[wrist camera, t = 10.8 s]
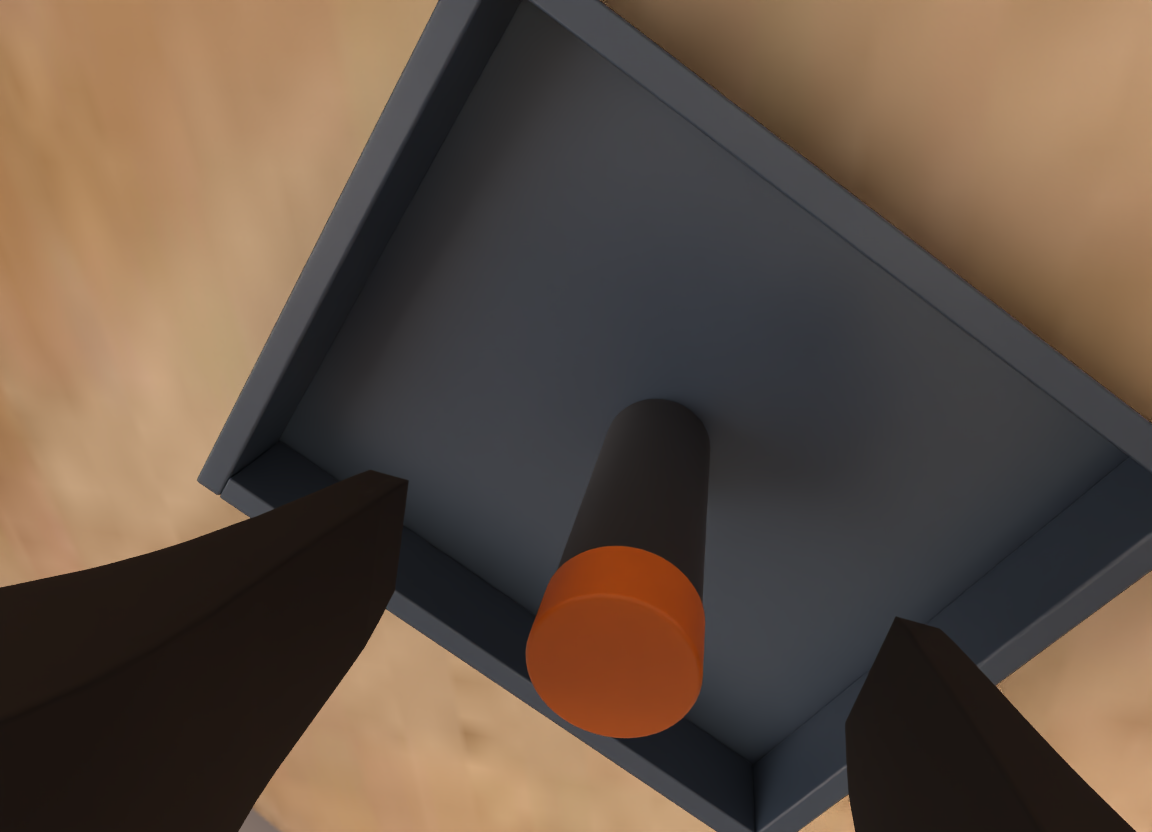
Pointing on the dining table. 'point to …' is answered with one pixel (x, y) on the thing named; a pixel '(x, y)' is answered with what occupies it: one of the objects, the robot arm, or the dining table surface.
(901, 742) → the robot arm
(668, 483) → the marker
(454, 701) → the dining table surface
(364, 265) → the tray
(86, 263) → the dining table surface
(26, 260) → the dining table surface
